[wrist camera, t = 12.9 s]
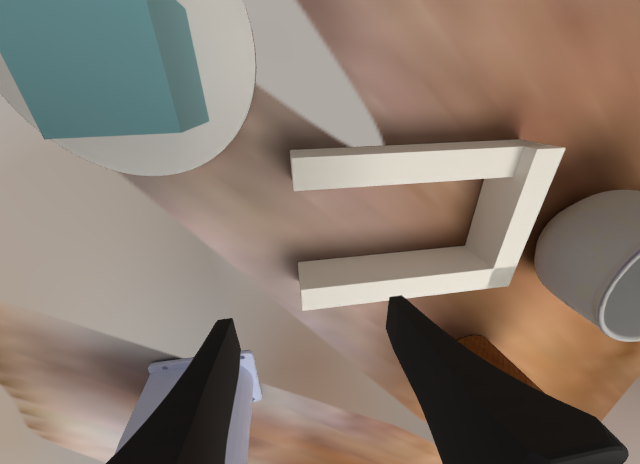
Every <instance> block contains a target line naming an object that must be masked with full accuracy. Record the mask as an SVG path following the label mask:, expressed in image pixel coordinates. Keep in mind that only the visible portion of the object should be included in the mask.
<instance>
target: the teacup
mask: <svg viewBox="0 0 640 464" xmlns="http://www.w3.org/2000/svg"><path fill="white" fill-rule="evenodd" d="M534 264H535V270H536V273H537V275H538V278H539V279H540V281H541V282H542V284H543V285H544V286H545V287H546V288H547V289H548V290H549V291H550V292H551V293H552V294H554V295H555V296H556V297H557V298H559V299H560V300H561V301H563V302H564V303H565V304H567V305H568V306H569V307H571V308H572V309H573V310H575V311H576V312H578V313H579V314H580V315H582V316H583V317H585V318H586V319H588V320H589V321H591V322H592V323H593V324H595V325H596V326H598V327H599V328H600V330H601V331H602V332H603V333H605V334H606V335H608V336H609V337H612V338H613V339H616V340H620V341H628V342H631V341H640V191H638V190H612V191H606V192H601V193H597V194H595V195H592V196H589V197H587V198H584V199H582V200H580V201H578V202H577V203H575V204H573V205H571V206H569V207H567V208H565V209H564V210H562V211H561V212H560V213H558V214H557V215H556V216H555V217H553V218H552V219H551V220H550V221H549V222H548V223H547V225H546V226H545V227H544V229H543V231H542V232H541V234H540V236H539V238H538V241H537V245H536V252H535V258H534Z"/></svg>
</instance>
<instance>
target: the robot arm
mask: <svg viewBox="0 0 640 464" xmlns="http://www.w3.org/2000/svg"><path fill="white" fill-rule="evenodd" d="M386 330H387V333H388V336H389V339H390V342H391V344H392V347H393V350H394V352H395V354H396V356H397V358H398V360H399V362H400V364H401V366H402V368H403V370H404V372H405V374H406V376H407V378H408V380H409V382H410V384H411V386H412V388H413V390H414V392H415V394H416V396H417V399H418V401H419V403H420V405H421V407H422V410H423V412H424V415H425V418H426V420H427V423H428V425H429V428H430V430H431V433H432V435H433V438H434V441H435V444H436V447H437V449H438V452H439V455H440V457H441V460H442V463H443V464H623V463H624V462H625V461H626V459H627V458H628V450H627V448H626V447H625V446H624V445H623V444H622V443H621V442H620V441H619V440H618V439H617V438H616V437H615V436H614V435H613V434H612V433H611V432H610V431H609V430H608V429H607V428H606V427H605V426H604V425H603V424H602V423H601V422H600V421H599V420H598V419H597V418H596V417H594V416H592V415H590V414H588V413H586V412H583V411H581V410H579V409H577V408H575V407H572V406H570V405H568V404H566V403H563V402H561V401H559V400H557V399H555V398H553V397H551V396H549V395H547V394H545V393H543V392H541V391H539V390H537V389H535V388H533V387H531V386H529V385H527V384H525V383H523V382H522V381H520V380H518V379H516V378H514V377H513V376H511V375H509V374H507V373H506V372H504V371H502V370H500V369H499V368H497V367H495V366H494V365H492V364H491V363H489V362H487V361H486V360H484V359H483V358H481V357H480V356H478V355H477V354H475V353H474V352H472V351H471V350H469V349H468V348H466V347H465V346H463V345H462V344H461V343H459V342H458V341H457V340H455V339H454V338H452V337H451V336H450V335H448V334H447V333H446V332H445V331H443V330H442V329H441V328H440V327H438V326H437V325H436V324H435V323H433V322H432V321H431V320H430V319H429V318H427V317H426V316H425V315H424V314H423V313H422V312H420V311H419V310H418V309H417V308H416V307H415V306H414V305H412V304H411V303H410V302H409V301H408V300H407V299H405V298H404V297H403V296H402V295H400V296H393V297H389V305H388V313H387V322H386ZM148 371H149V373H150V376H149V378H148V380H147V382H146V384H145V387H144V389H143V391H142V393H141V395H140V398H139V400H138V402H137V404H136V406H135V409H134V411H133V413H132V415H131V417H130V420H129V422H128V424H127V426H126V428H125V431H124V433H123V435H122V437H121V439H120V442H119V444H118V447H117V450H116V453H115V455H114V456H113V457H112V458H111V459H110V460H109V461H108V462H107V463H106V464H247V459H248V447H249V434H250V422H251V410H252V402H254V401H259V400H261V399H262V393H261V388H260V384H259V379H258V374H257V370H256V365H255V360H254V356H253V352H252V351H250V350H245V351H241V348H240V345H239V341H238V337H237V334H236V330H235V326H234V322H233V319H232V318H230V319H222V320H218V321H217V322H216V323H215V325H214V327H213V328H212V330H211V332H210V333H209V335H208V337H207V338H206V340H205V341H204V343H203V345H202V346H201V348H200V349H199V351H198V352H197V354H196V355H195V357H193V358H185V359H177V360H170V361H162V362H155V363H151V364H150V365H149V367H148Z"/></svg>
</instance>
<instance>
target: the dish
mask: <svg viewBox="0 0 640 464" xmlns="http://www.w3.org/2000/svg"><path fill="white" fill-rule="evenodd" d="M176 1H177V2H179V3H180V4H181V5H182V6H183V7H184V8H185V9H186V13H187V18H188V23H189V28H190V32H191V37H192V42H193V46H194V51H195V56H196V60H197V65H198V70H199V74H200V79H201V84H202V88H203V93H204V98H205V102H206V107H207V112H208V116H209V122H207V123H204V124H202V125H199V126H197V127H194V128H192V129H189V130H187V131H184V132H182V133H166V134H145V135H124V136H103V137H82V138H61V139H51V140H52V141H53V142H55V143H56V144H58V145H59V146H61V147H62V148H64V149H66V150H68V151H70V152H71V153H73V154H75V155H77V156H78V157H81V158H83V159H85V160H87V161H89V162H92V163H94V164H96V165H99V166H102V167H105V168H108V169H111V170H114V171H118V172H123V173H127V174H133V175H141V176H165V175H174V174H178V173H182V172H186V171H189V170H192V169H194V168H197V167H199V166H201V165H203V164H205V163H206V162H208V161H210V160H211V159H213V158H214V157H215V156H217V155H218V154H219V153H220V152H222V151H223V150H224V149H225V148H226V147H227V146H228V144H229V143H230V142H231V141H232V140H233V139H234V138H235V136H236V135H237V133H238V132H239V130H240V129H241V127H242V126H243V123H244V121H245V119H246V117H247V115H248V112H249V109H250V106H251V103H252V100H253V95H254V89H255V82H256V53H255V45H254V39H253V33H252V28H251V25H250V21H249V18H248V14H247V10H246V8H245V5H244V2H243V0H176ZM0 94H1V95H2V96H3V97H4V98H5V99H6V100H7V101H8V103H9V104H10V105H11V106H12V107H13V108H14V109H15V110H16V111H17V112H18V113H19V114H20V115H21V116H22V117H23V118H24V119H25V120H27V121H28V122H29V123H30V124H31V125H33V126H34V127H35V128H36V129H37V130H39V128H38V126H37V124H36V122H35V120H34V118H33V116H32V114H31V112H30V110H29V108H28V106H27V104H26V103H25V101H24V99H23V97H22V95H21V93H20V91H19V89H18V87H17V85H16V83H15V81H14V79H13V77H12V75H11V73H10V71H9V69H8V67H7V65H6V63H5V61H4V59H3V57H2V55H1V53H0ZM39 131H40V130H39Z"/></svg>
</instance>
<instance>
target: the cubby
mask: <svg viewBox="0 0 640 464" xmlns="http://www.w3.org/2000/svg"><path fill="white" fill-rule="evenodd" d="M565 149H566V148H564V147H559V146H553V145H548V144H542V143H537V142H532V141H526V140H521V139H516V140H494V141H473V142H451V143H430V144H408V145H387V146H366V147H344V148H322V149H301V150H290V162H291V176H292V184H293V190H294V191H304V190H319V189H334V188H350V187H365V186H380V185H396V184H411V183H426V182H442V181H457V180H472V179H484V181H483V185H482V188H481V192H480V195H479V199H478V202H477V206H476V209H475V213H474V216H473V220H472V223H471V227H470V230H469V234H468V237H467V241H466V244H465V246H457V247H447V248H437V249H426V250H416V251H406V252H396V253H386V254H375V255H365V256H355V257H345V258H334V259H324V260H314V261H304V262H298V273H299V285H300V293H301V302H302V311H305V310H313V309H322V308H330V307H338V306H347V305H355V304H363V303H372V302H380V301H388V300H389V297H393V296H400V295H402V296H403V297H404V298H413V297H422V296H430V295H438V294H446V293H455V292H463V291H471V290H480V289H488V288H496V287H505V286H509V283H510V281H511V278H512V276H513V274H514V271H515V269H516V266H517V264H518V262H519V259H520V257H521V254H522V252H523V250H524V247H525V245H526V242H527V240H528V238H529V235H530V233H531V230H532V228H533V226H534V223H535V221H536V218H537V216H538V214H539V211H540V209H541V206H542V204H543V202H544V199H545V197H546V194H547V192H548V190H549V187H550V185H551V182H552V180H553V178H554V175H555V173H556V170H557V168H558V165H559V163H560V161H561V158H562V156H563V153H564V151H565Z"/></svg>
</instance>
